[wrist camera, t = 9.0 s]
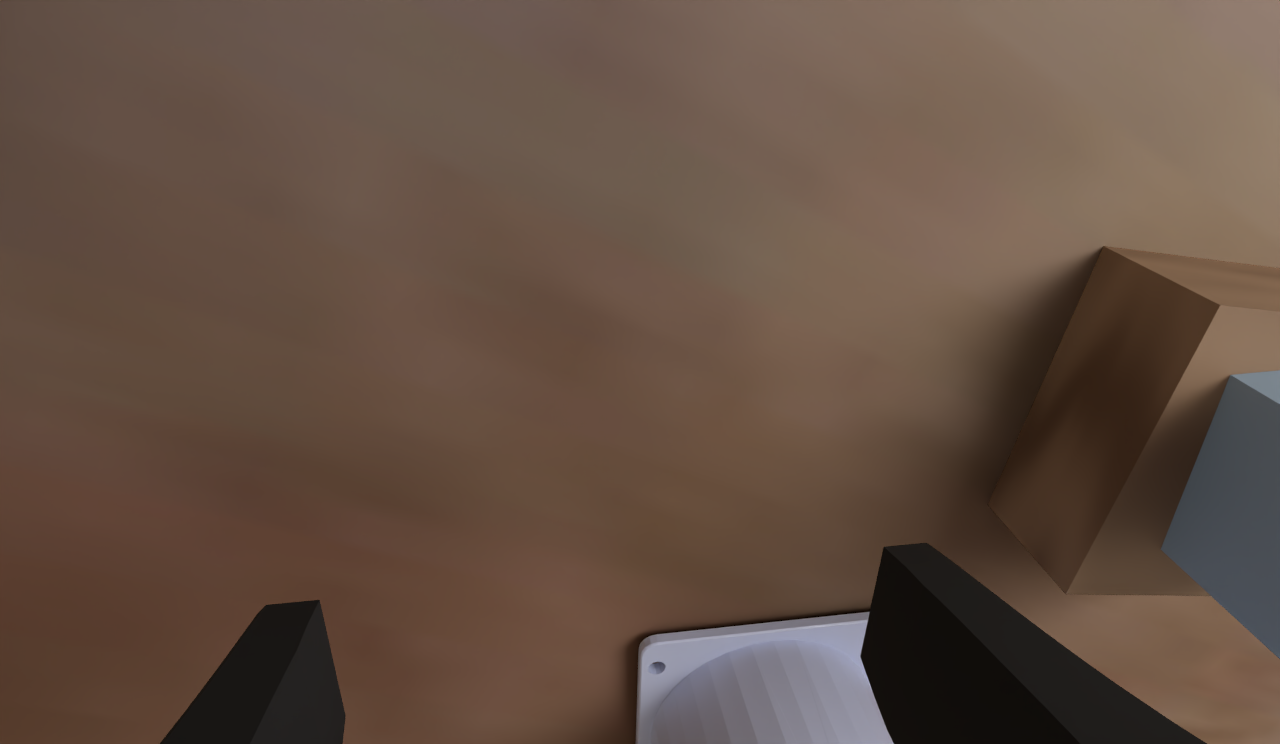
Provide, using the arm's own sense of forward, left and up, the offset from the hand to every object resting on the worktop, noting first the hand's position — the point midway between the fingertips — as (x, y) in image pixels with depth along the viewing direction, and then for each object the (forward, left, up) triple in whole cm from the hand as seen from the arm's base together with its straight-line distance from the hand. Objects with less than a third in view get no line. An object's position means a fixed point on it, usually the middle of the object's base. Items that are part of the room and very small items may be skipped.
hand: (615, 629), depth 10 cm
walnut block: (-3, -17, -10) cm, 20 cm away
